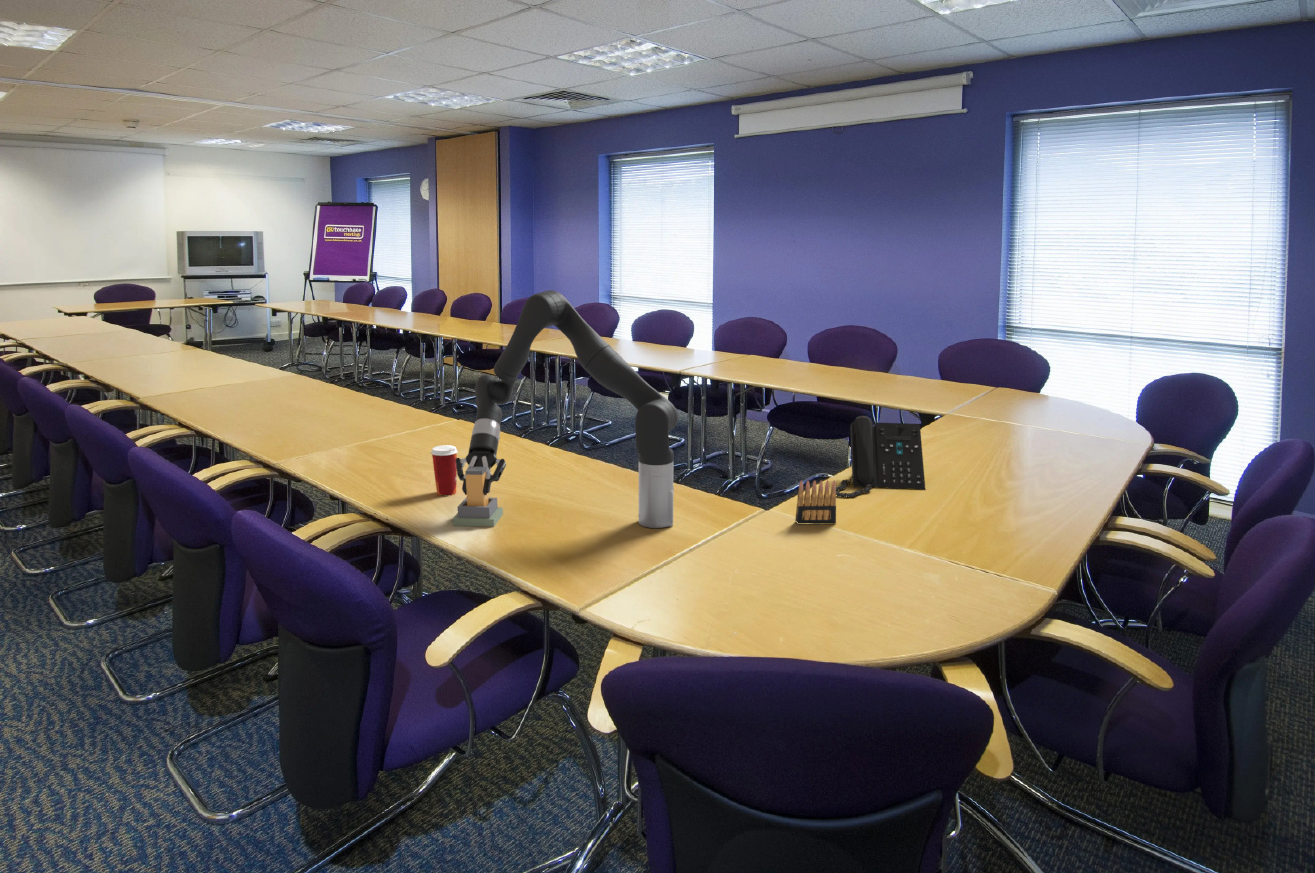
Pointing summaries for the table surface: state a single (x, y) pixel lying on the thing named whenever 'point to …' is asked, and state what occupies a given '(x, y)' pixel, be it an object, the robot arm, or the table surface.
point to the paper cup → (445, 469)
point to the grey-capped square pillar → (476, 486)
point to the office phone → (884, 456)
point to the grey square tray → (478, 514)
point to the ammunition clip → (816, 504)
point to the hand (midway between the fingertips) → (475, 493)
